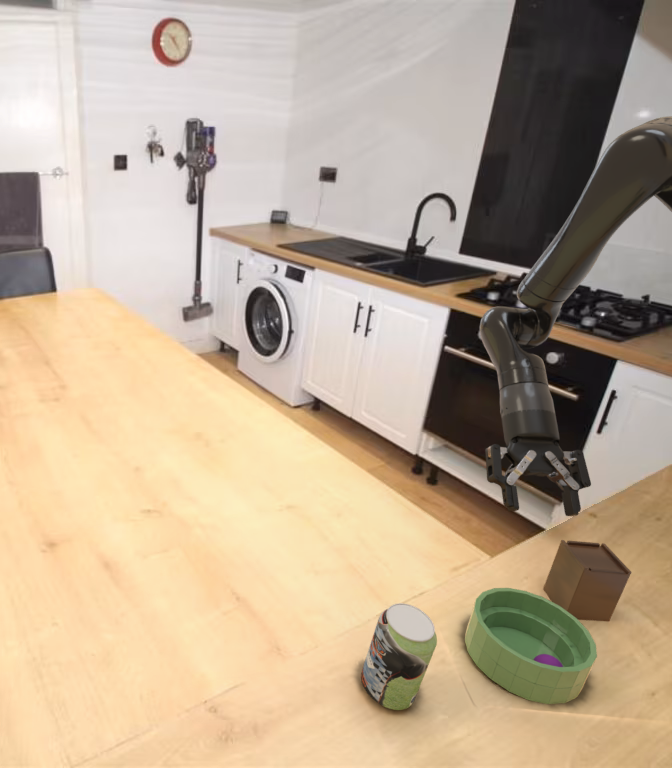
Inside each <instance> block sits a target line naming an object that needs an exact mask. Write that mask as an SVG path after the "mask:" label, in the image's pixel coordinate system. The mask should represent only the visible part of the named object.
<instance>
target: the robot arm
mask: <svg viewBox="0 0 672 768" xmlns="http://www.w3.org/2000/svg"><path fill="white" fill-rule="evenodd" d="M653 197H654V198H656V199H657V200H658V201H659V202H661V204H663V206H665V208H667V210H669V211H670V212H671V213H672V116H671V115H670V116H669V115H668V116H661V117H656V118H654V119H651V120H648V121H646V122H644V123H642V124H639V125H637V126H635V127H632V128H630V129H629V130H626V131H624V132H623V133H621V134H620V135H618V136H617V137H616V138H614V139H613V140H612V141H611V142H610V143H609V144H608V146H607V147H606V148H605V150H604V151H603V152H602V155H601V156H600V158H599V160H598V161H597V164H596V165H595V167H594V169H593V171H592V173H591V175H590V177H589V179H588V181H587V183H586V185H585V187H584V189H583V191H582V193H581V195H580V196H579V198H578V201H577V202H576V203H575V206H574V207H573V209H572V211H571V212H570V214H569V216H568V217H567V219H566V220H565V222H564V223H563V225H562V227H561V228H560V229H559V231H558V232H557V234H555V236H554V238H553V239H552V241H550V244H549V245H548V246H547V247H546V248H545V250H544V251H543V252H542V254H541V255H540V257H538V259H537V261H536V262H535V263H534V264H533V266H532V267H531V269H529V271H528V272H527V273H526V276H524V278H523V279H522V280H521V282H520V284H519V285H518V286H517V289H516V297H517V299H518V301H519V303H521V304H522V305H523V306H525V307H526V308H522V307H514V306H502V305H499V306H498V305H497V306H493V307H490V308H489V309H488V310H486V312H485V313H484V314H483V315H482V317H481V319H480V323H479V335H480V339H481V342H482V345H483V347H484V349H485V350H486V352H487V354H488V356H489V359H490V361H491V363H492V365H493V366H494V368H495V371H496V376H497V384H498V390H499V409H500V410H499V414H500V418H501V419H500V420H501V426H502V432H503V440H504V443H505V446H500V444H498V443H493V444H492V445H489V446H488V447H486V448H485V452H484V453H485V467H486V481H487V482H488V483H489V484H495V485H497V486H499V487H500V489H501V495H502V496H501V497H502V503H503V506H504V508H506V509H507V511H508V512H517V511H519V510H520V503H519V495H518V487H517V485H515V483H516V482H517V481H518V479H519V478H520V477H521V476H522V475H523V476H535V477H541V478H542V477H547V478H548V479H549V480H550V481H551V482H553V483H555V484H556V485H557V486H558V487H559V489H560V490H561V491H562V492H561V499H562V504H563V511H564V515H565V516H566V517H576V516H578V515H579V513H580V512H581V510H582V506H581V502H580V495H579V491H581V490H582V489H586V488H589V487H591V486H592V482H591V478H590V473H589V470H588V466H587V461H586V458H585V454H584V452H583V451H582V450H581V449H575V450H573V451H566V450H565V451H564V450H563V449H562V448H561V446H560V433H559V426H558V422H557V416H556V415H557V414H556V410H555V404H554V399H553V397H552V393H551V391H550V387H549V381H548V374H547V370H546V365H545V363H544V360H543V358H542V357H540V356H539V355H537V354H534V353H532V352H529V351H527V350H528V349H533V348H536V347H539V346H540V345H542V344H543V343H545V342H546V341H547V340H548V338H549V337H550V335H551V334H552V331H553V327H554V325H555V323H556V320H557V318H558V317H559V314H560V311H561V309H562V307H563V304H564V303H565V302H566V301H567V300H568V299H569V297H570V296H571V295H573V293H574V291H576V289H578V287H579V286H580V285H581V284H582V282H583V281H584V280H585V278H586V277H587V276H588V275H589V274H590V272H591V270H592V269H593V267H594V266H595V264H596V262H597V260H598V259H599V257H600V255H601V253H602V251H604V248H605V246H606V245H607V243H608V242H609V241H610V239H611V238H612V237H613V236H614V234H615V233H616V232H617V231H618V230H619V229H620V227H621V226H622V225H623V224H624V223H625V222H626V221H627V220H628V219H629V218H630V217H631V216H632V215H634V214H635V213H636V212H637V211H638V210H639V209H640V208H642V206H643V205H645V204H646V203H647V202H648V201H650V199H652V198H653ZM504 457H505V458H506V459H507V460H508V461H509V462H510V463H511V464H510V465H509V466H508V468H507V470H506V471H505V472H504V475H503V469H502V468H503V467H502V459H503V458H504ZM563 460H564V464H565V465H567V466H568V469H567V468H566V466H564V465H563V463H562V461H563Z"/></svg>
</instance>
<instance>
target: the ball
mask: <svg viewBox="0 0 672 768" xmlns="http://www.w3.org/2000/svg"><path fill="white" fill-rule="evenodd" d="M533 660H534V661H537V662H539V663H542V664H547V665H552V666H556V667H563V665H562V663H561V662H560V661H559V660H558V659H557V658H555V657H553V656H551V655H548V654H540V655H538V656H536V657H535V658H534V659H533Z"/></svg>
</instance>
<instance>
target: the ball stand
mask: <svg viewBox="0 0 672 768" xmlns="http://www.w3.org/2000/svg"><path fill="white" fill-rule="evenodd" d="M549 569H550V570H549V571H548V574H547V577H546V580H545V583H544V585H543V588H542V590H543V592H544V593H545V594H546V595H547V597H548V598H549V601H551V602H553V603H555V604H557V605H559V606H560V607H562V608H563V609H565V610H566V611H567V612H569V613H570V614H571V615H573V616H574V617H576V618H577V619H578V620H579V621H596V622H610V621H611V618H612V617H613V614H614V612H615V610H616V608H617V606H618V604H619V601H620V599H621V596H622V595H623V592H624V590H625V588H626V585H627V583H628V581H629V579H630V577H631V575H632V570H630V568H629V567H627V565H625V563H624V562H623V561H622V560H621V559H620V558H619V557H618V556H617V555H616V554H615V553H614V552H613V551H612V550H611V548H609V546H608V545H607V544H606V543H605V542H603V543H601V544H600V543H599V542H590V541H579V540H567V542H566V540H565V539H561V540H560V542H559V546H558V549H557V551H556V553H555V556H554V558H553V561H552V564H551V567H550V568H549Z"/></svg>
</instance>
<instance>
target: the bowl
mask: <svg viewBox="0 0 672 768" xmlns="http://www.w3.org/2000/svg"><path fill="white" fill-rule="evenodd" d="M464 643H465V647H466V651H467V653H468V654H469V656H470V658H471V659H472V661H473V663H474V665H476V666H477V668H478V669H479V670H480V671H481V672H483V674H484V675H486V676H487V677H488V679H490V680H491V681H492V682H494V683H495V684H497V685H499V686H500V687H501V688H503V689H504V690H506V691H507V692H509V693H510V694H514V695H516V696H518V697H520V698H522V699H525V700H527V701H530V702H535V703H540V704H545V705H555V704H567V703H568V702H570V701H573V700H575V699H577V698H578V697H579V695H580V693H581V692H582V690H583V688H584V687H585V684H586V682H587V679H588V678H589V676H590V673H591V671H592V669H593V666H594V665H595V662H596V660H597V658H598V651H597V644H596V642H595V640H594V638H593V636H592V635H591V632H590V631H589V630H588V629H587V627H586V626H584V624H583V623H581V620H578V619H577V618H576V617H574V616H573V615H571V614H570V613H569V612H567V611H566V610H565V609H563V608H562V607H560V606H559V605H557V604H555V603H553V602H552V601H551V600H550V599H547V598H546V597H543V596H541V595H538V594H536V593H533V592H530V591H527V590H523V589H517V588H512V587H493V588H490V589H487V590H484V591H482V592H481V593H480V594H479V595H478V596H477V597H476V598H475V601H474V604H473V606H472V610H471V613H470V617H469V619H468V622H467V626H466V629H465V635H464ZM540 654H548V655H551V656H553V657H555V658H557V659H558V660H559V661H560V662H561V663H562V665H563V667H556V666H552V665H547V664H542V663H539V662H537V661H534V660H533V659H534V658H535V657H536V656H538V655H540Z"/></svg>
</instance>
